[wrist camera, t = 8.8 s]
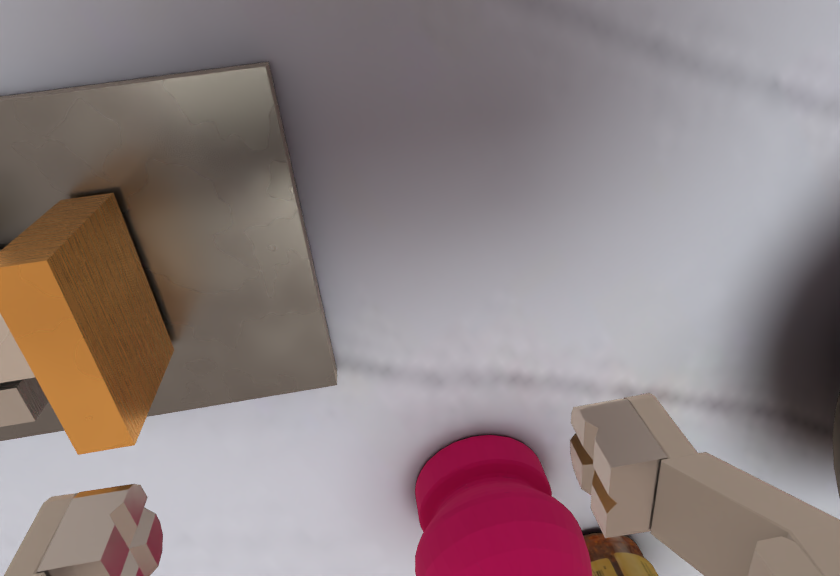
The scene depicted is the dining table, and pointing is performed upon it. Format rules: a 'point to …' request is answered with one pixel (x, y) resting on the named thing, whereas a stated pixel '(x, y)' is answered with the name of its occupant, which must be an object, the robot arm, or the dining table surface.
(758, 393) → the dining table surface
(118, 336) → the plunger
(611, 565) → the sauce bottle
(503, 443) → the pepper mill
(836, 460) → the coal bowl
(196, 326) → the bench
